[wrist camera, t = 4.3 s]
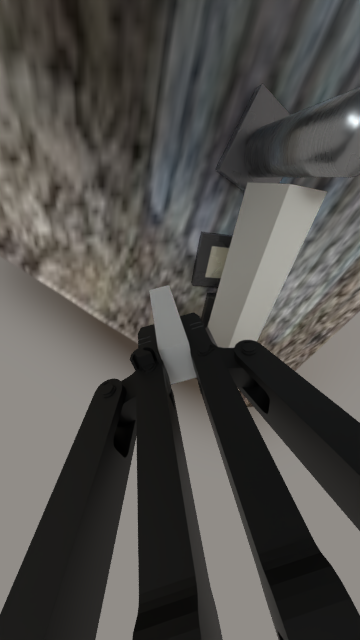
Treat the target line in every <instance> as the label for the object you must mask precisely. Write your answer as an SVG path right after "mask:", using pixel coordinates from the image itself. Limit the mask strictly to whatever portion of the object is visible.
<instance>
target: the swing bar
mask: <svg viewBox="0 0 360 640" xmlns="http://www.w3.org/2000/svg"><path fill="white" fill-rule="evenodd" d="M326 194H327V192H326V191H321V190H317V189H312V188H307V187H302V186H297V185H293V184H277V183H249V182H247V186H246V190H245V193H244V197H243V200H242V204H241V208H240V211H239V215H238V218H237V222H236V226H235V229H234V233H233V237H232V240H231V244H230V247H229V251H228V255H227V258H226V262H225V265H224V269H223V273H222V276H221V280H220V283H219V287H218V291H217V294H216V298H215V301H214V305H213V309H212V312H211V316H210V320H209V323H208V326H207V327H206V331H207V333H208V335H209V337H210V339H211V341H212V343H213V344H215V345H216V346H218V347H222V348H234V347H235V345H236V344H237V343H238V342H239V341H242V340H253V341H256V342H257V340H258V338H259V336H260V334H261V332H262V329H263V327H264V325H265V323H266V321H267V319H268V317H269V315H270V312H271V310H272V308H273V306H274V304H275V302H276V300H277V298H278V295H279V293H280V291H281V289H282V287H283V285H284V283H285V281H286V278H287V276H288V274H289V272H290V270H291V268H292V266H293V264H294V261H295V259H296V257H297V255H298V253H299V251H300V249H301V247H302V244H303V242H304V240H305V238H306V236H307V234H308V232H309V230H310V227H311V225H312V223H313V221H314V219H315V217H316V215H317V213H318V210H319V208H320V206H321V204H322V202H323V200H324V198H325V196H326Z"/></svg>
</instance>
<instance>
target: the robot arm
mask: <svg viewBox="0 0 360 640" xmlns="http://www.w3.org/2000/svg"><path fill="white" fill-rule="evenodd" d="M149 291H150V297H151V304H152V311H153V318H154V324H153V325H150V326H146V327H142V328H141V329H140V331H139V333H138V340H139V341H138V344H139V345H138V349H137V350H135V351H134V352H133V354H132V355H131V357H130V361H131V362H132V364H133V366H134V368H135V370H136V371H135V372H134V373H133V374H132V375H131V376H129V377H127V378H126V379H124V380H122V381H120V380H118V379H110V380H107V381H105V382H103V383H102V384H101V385H100V386H99V387H98V388H97V390H96V392H95V394H94V396H93V398H92V401H91V403H90V405H89V408H88V410H87V412H86V415H85V417H84V419H83V422H82V424H81V426H80V429H79V431H78V434H77V436H76V438H75V440H74V443H73V445H72V447H71V450H70V452H69V455H68V457H67V459H66V462H65V464H64V466H63V469H62V471H61V473H60V476H59V478H58V480H57V483H56V485H55V488H54V490H53V492H52V494H51V497H50V499H49V501H48V504H47V506H46V508H45V511H44V513H43V516H42V518H41V520H40V522H39V525H38V527H37V530H36V532H35V534H34V537H33V539H32V541H31V544H30V546H29V548H28V551H27V553H26V555H25V558H24V560H23V562H22V565H21V567H20V569H19V572H18V574H17V576H16V579H15V581H14V583H13V586H12V588H11V590H10V593H9V595H8V597H7V600H6V602H5V604H4V607H3V609H2V612H1V614H0V640H95V638H96V633H97V628H98V623H99V618H100V613H101V608H102V603H103V599H104V594H105V588H106V584H107V579H108V574H109V569H110V564H111V559H112V554H113V549H114V544H115V539H116V534H117V529H118V525H119V520H120V515H121V509H122V505H123V500H124V495H125V490H126V485H127V480H128V475H129V470H130V465H131V460H132V455H133V450H134V446H135V440H136V436H137V482H138V483H137V487H138V488H137V489H138V549H139V550H138V554H139V555H138V556H139V608H138V616H137V620H136V624H135V628H134V632H133V640H222V635H221V629H220V624H219V620H218V615H217V610H216V606H215V602H214V599H213V595H212V591H211V588H210V583H209V578H208V573H207V568H206V562H205V557H204V552H203V547H202V541H201V536H200V531H199V525H198V520H197V515H196V510H195V505H194V499H193V494H192V489H191V484H190V478H189V473H188V468H187V463H186V457H185V452H184V447H183V442H182V437H181V431H180V426H179V421H178V416H177V410H176V405H175V400H174V395H173V392H172V389H171V385H172V384H175V383H178V382H182V381H185V380H188V379H192V378H196V377H197V380H198V384H199V388H200V391H201V394H202V397H203V400H204V403H205V406H206V409H207V413H208V416H209V419H210V422H211V425H212V428H213V431H214V435H215V438H216V441H217V444H218V447H219V450H220V453H221V457H222V460H223V463H224V466H225V469H226V472H227V475H228V478H229V482H230V485H231V488H232V491H233V494H234V497H235V500H236V504H237V507H238V510H239V513H240V516H241V520H242V523H243V526H244V529H245V532H246V535H247V538H248V541H249V545H250V548H251V551H252V554H253V557H254V560H255V563H256V567H257V570H258V573H259V577H260V580H261V584H262V588H263V591H264V594H265V597H266V601H267V604H268V607H269V610H270V613H271V617H272V620H273V623H274V626H275V629H276V632H277V636H278V639H279V640H360V615H359V613H358V611H357V609H356V607H355V606H354V604H353V602H352V600H351V598H350V596H349V594H348V593H347V591H346V589H345V587H344V585H343V583H342V582H341V580H340V578H339V577H338V575H337V574H336V572H335V570H334V569H333V567H332V566H331V564H330V563H329V562H328V561H327V559H326V558H325V557H324V556H323V555H322V553H321V552H320V550H319V549H318V547H317V545H316V544H315V542H314V540H313V538H312V536H311V534H310V532H309V530H308V528H307V526H306V524H305V522H304V520H303V518H302V516H301V514H300V512H299V510H298V508H297V506H296V504H295V502H294V500H293V498H292V496H291V494H290V492H289V490H288V488H287V486H286V484H285V482H284V480H283V478H282V476H281V474H280V472H279V470H278V468H277V466H276V464H275V462H274V460H273V458H272V456H271V454H270V452H269V450H268V448H267V446H266V444H265V442H264V440H263V438H262V436H261V434H260V432H259V430H258V428H257V426H256V424H255V422H254V420H253V418H252V416H251V414H250V412H249V410H248V408H247V406H246V404H245V402H244V400H243V398H242V396H241V394H240V392H239V390H240V391H241V392H242V393H243V395H244V396H245V397H246V398H247V399H248V400H249V402H250V403H251V404H252V405H253V406H254V407H255V409H256V410H257V411H258V412H259V413H260V414H261V416H262V417H263V418H264V419H265V420H266V422H267V423H268V424H269V425H270V426H271V427H272V429H273V430H274V431H275V432H276V433H277V434H278V436H279V437H280V438H281V439H282V440H283V441H284V443H285V444H286V445H287V446H288V447H289V448H290V450H291V451H292V452H293V453H294V454H295V456H296V457H297V458H298V459H299V460H300V461H301V462H302V464H303V465H304V466H305V467H306V468H307V470H308V471H309V472H310V473H311V474H312V475H313V477H314V478H315V479H316V480H317V481H318V483H319V484H320V485H321V486H322V487H323V488H324V490H325V491H326V492H327V493H328V494H329V495H330V497H331V498H332V499H333V500H334V501H335V502H336V504H337V505H338V506H339V507H340V508H341V510H342V511H343V512H344V513H345V514H346V515H347V516H348V518H349V519H350V520H351V521H352V522H353V523H354V525H355V526H356V527H357V528H358V529H359V531H360V423H359V422H358V421H357V420H356V419H354V418H353V417H352V416H350V415H349V414H348V413H347V412H345V411H344V410H343V409H342V408H340V407H339V406H338V405H337V404H335V403H334V402H333V401H331V400H330V399H329V398H328V397H327V396H325V395H324V394H323V393H321V392H320V391H319V390H318V389H316V388H315V387H314V386H313V385H311V384H310V383H309V382H308V381H306V380H305V379H304V378H303V377H301V376H300V375H298V373H296V372H295V371H294V370H292V369H291V368H290V367H289V366H287V365H286V364H285V363H284V362H282V361H281V360H280V359H279V358H277V357H276V356H275V355H274V354H272V353H271V352H270V351H269V350H267V349H266V348H265V347H264V346H262V345H261V344H260V343H258V342H256V341H253V340H242V341H239V342H238V343H237V344H236V345H235V347H234V348H222V347H218V346H216V345H215V344H213V343H212V341H211V339H210V337H209V335H208V333H207V331H206V329H205V327H204V325H203V323H202V321H201V319H200V317H199V316H198V315H197V314H195V313H191V314H187V315H183V316H179V313H178V310H177V307H176V304H175V301H174V298H173V296H172V293H171V290H170V287H169V285H167V286H163V287H160V288H156V289H152V290H149ZM170 383H171V384H170ZM237 387H238V388H237ZM238 389H239V390H238Z"/></svg>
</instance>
